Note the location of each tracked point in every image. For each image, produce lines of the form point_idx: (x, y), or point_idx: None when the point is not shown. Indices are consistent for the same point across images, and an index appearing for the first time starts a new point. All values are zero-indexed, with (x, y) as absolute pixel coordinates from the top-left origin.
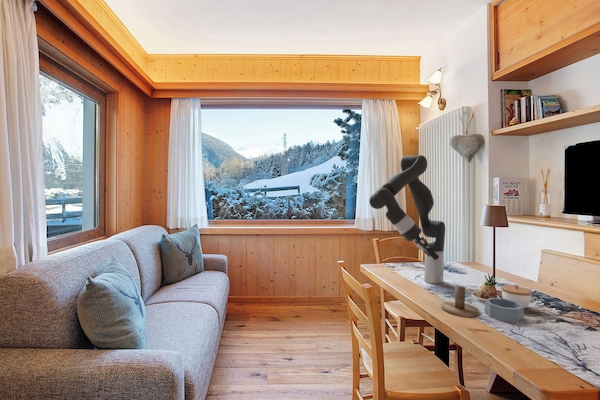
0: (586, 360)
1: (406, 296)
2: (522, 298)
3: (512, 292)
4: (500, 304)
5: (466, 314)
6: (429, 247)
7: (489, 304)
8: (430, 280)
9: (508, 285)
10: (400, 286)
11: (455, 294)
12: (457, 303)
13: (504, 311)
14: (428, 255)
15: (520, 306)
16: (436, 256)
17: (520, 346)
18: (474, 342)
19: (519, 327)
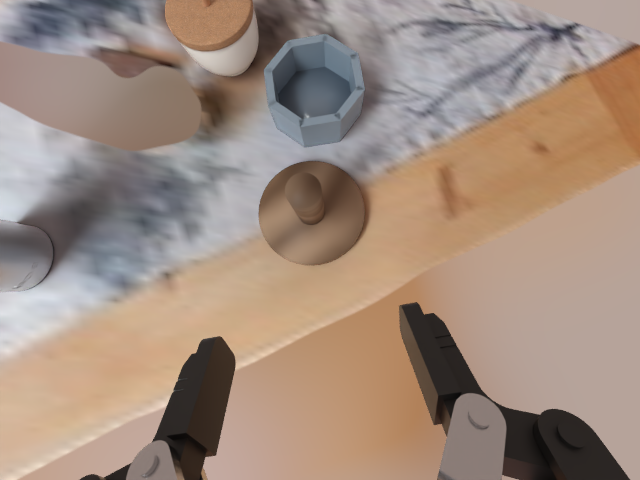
0: (526, 16)
1: None
2: (255, 17)
3: (244, 26)
4: (276, 92)
5: (363, 202)
6: (499, 471)
7: (333, 123)
8: (37, 271)
9: (169, 18)
10: (112, 392)
11: (308, 215)
12: (320, 216)
13: (363, 96)
14: (232, 368)
15: (329, 42)
16: (443, 329)
17: (511, 118)
18: (535, 215)
19: (390, 89)
